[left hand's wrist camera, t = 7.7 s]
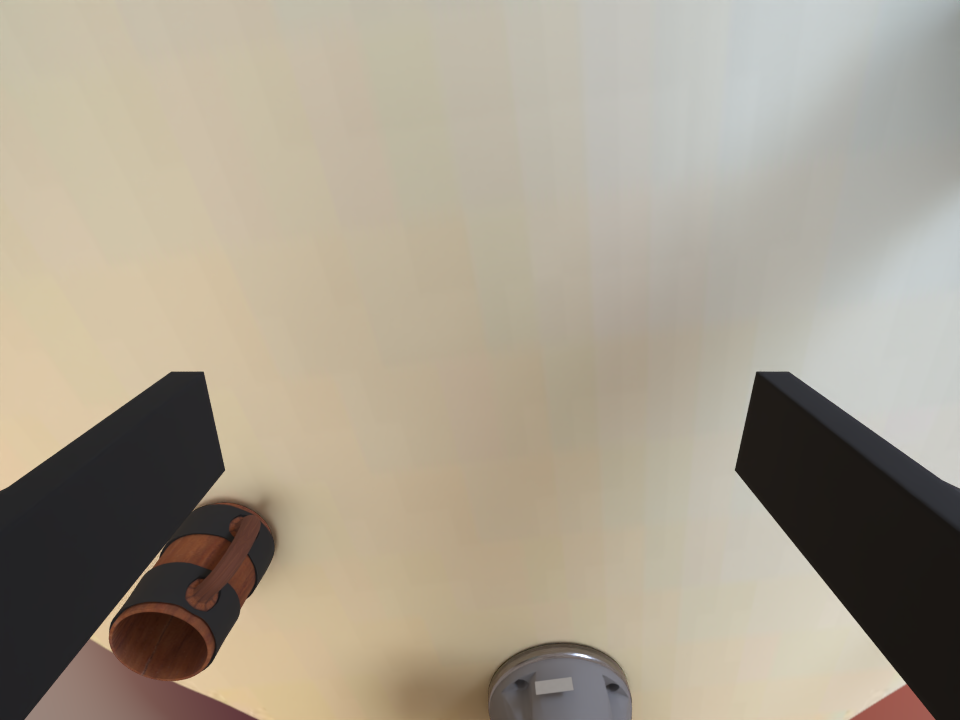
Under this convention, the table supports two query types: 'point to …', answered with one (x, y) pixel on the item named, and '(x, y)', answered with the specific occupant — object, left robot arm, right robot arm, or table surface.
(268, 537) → the mug
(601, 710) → the left robot arm
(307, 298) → the table surface
